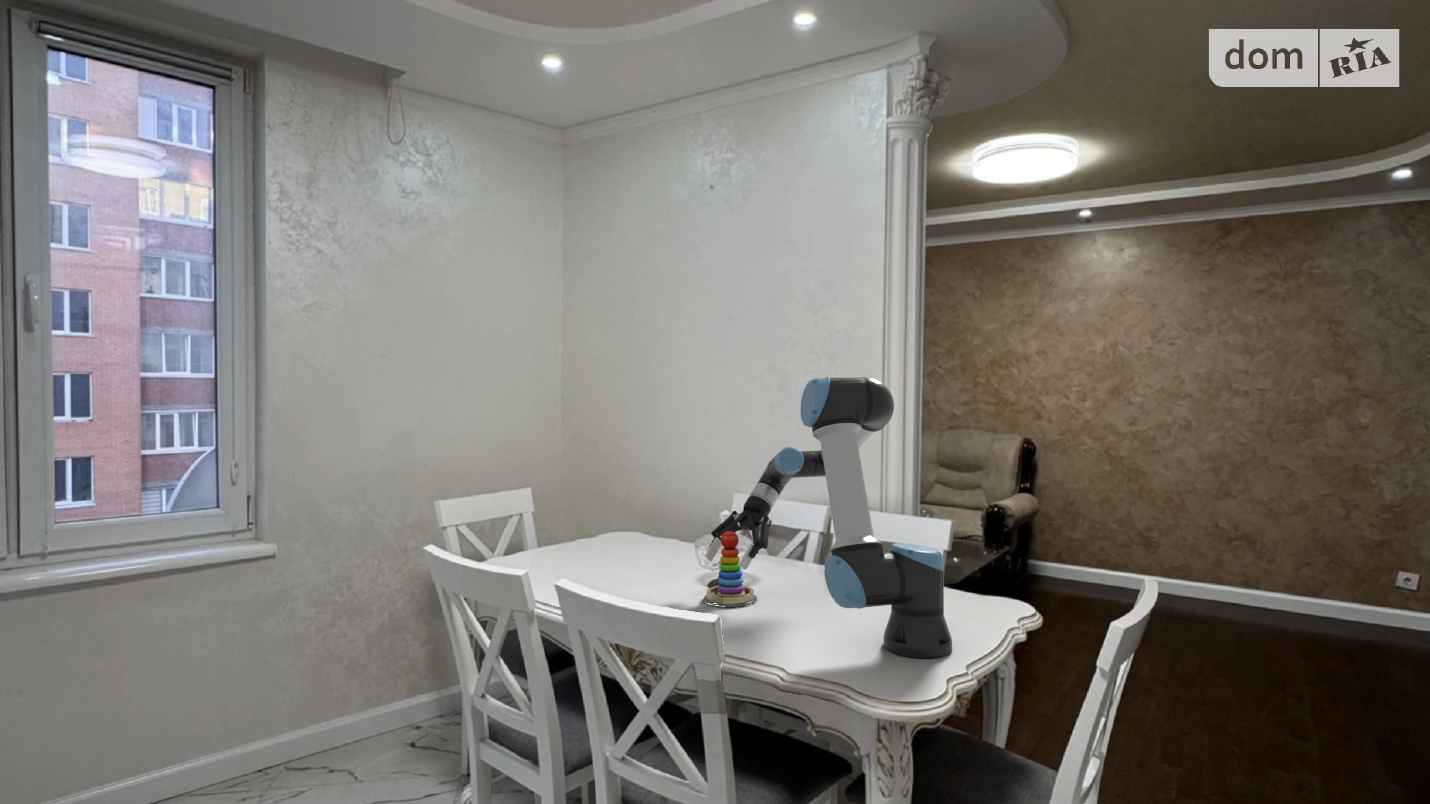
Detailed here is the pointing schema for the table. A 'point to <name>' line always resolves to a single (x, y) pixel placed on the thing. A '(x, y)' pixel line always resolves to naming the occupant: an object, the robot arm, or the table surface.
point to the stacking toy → (730, 567)
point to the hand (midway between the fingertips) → (724, 562)
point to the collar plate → (730, 598)
